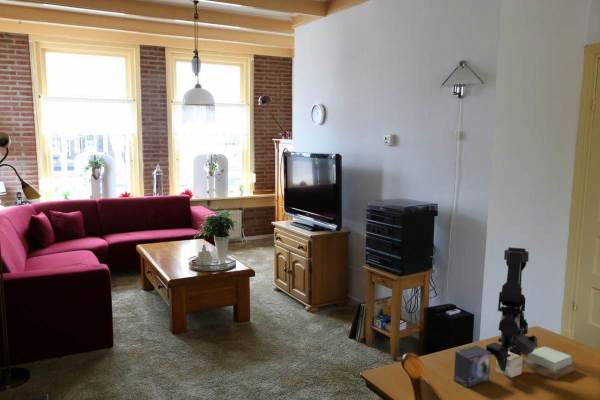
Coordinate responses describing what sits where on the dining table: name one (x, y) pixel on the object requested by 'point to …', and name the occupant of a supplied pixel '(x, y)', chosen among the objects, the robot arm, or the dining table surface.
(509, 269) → the robot arm
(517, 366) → the cream cube
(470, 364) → the small box
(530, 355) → the sage slab
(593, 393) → the dining table surface
